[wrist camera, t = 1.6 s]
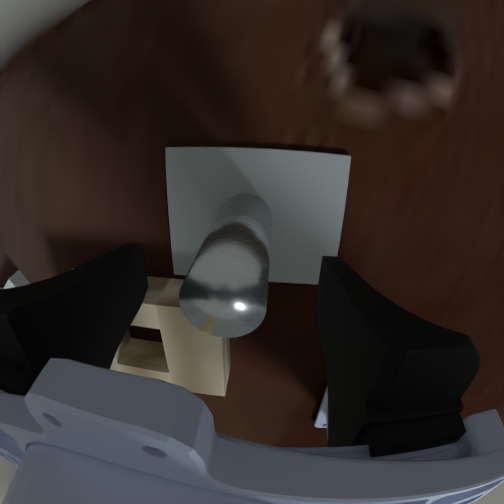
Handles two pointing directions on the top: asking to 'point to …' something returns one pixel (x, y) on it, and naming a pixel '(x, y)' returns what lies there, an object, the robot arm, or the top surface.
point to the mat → (270, 191)
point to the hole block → (174, 345)
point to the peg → (231, 270)
